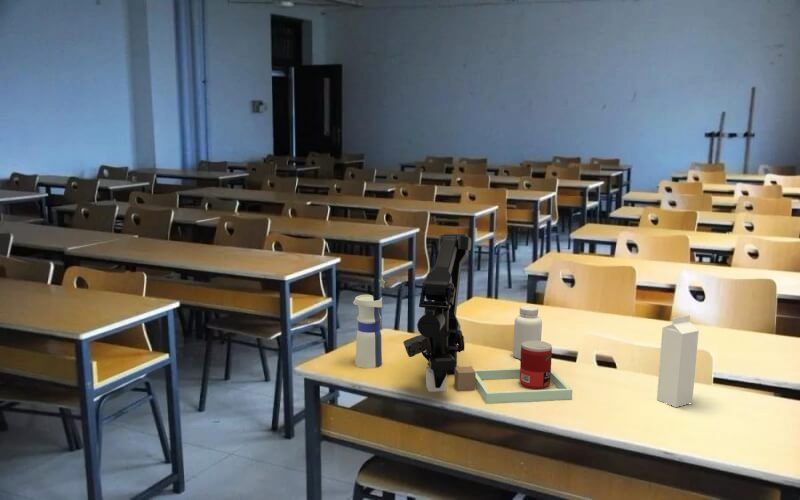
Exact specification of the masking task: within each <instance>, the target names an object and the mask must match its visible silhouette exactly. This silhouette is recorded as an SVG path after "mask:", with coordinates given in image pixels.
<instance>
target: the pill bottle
mask: <svg viewBox="0 0 800 500" xmlns="http://www.w3.org/2000/svg"><path fill="white" fill-rule="evenodd" d="M538 315H539V307H537V306H534V305H528V304H527V305H521V306H520V308H519V315H516V316H515V318H514V323H513V324H514V327H513V343H512V344H513V345H512V346H513V347H512V355H513V357H514V358H516V359H518V360H521V344H522V343H523V342H525V341H532V340H533V341H542V330H543V328H542V327H543V320H542V318H541V317H539V316H538Z"/></svg>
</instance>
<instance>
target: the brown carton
mask: <svg viewBox="0 0 800 500" xmlns="http://www.w3.org/2000/svg"><path fill="white" fill-rule="evenodd" d="M474 370H475V369H474V368H473V366H457V367H456V368H455V373H454V375H453V377H454V379H453V381H454V383H453V385H454V387H455V389H456V390H457V392H472V391H474V392H475V391H476V387H475V376H476V372H475V371H474Z"/></svg>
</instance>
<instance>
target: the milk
mask: <svg viewBox="0 0 800 500" xmlns="http://www.w3.org/2000/svg"><path fill="white" fill-rule="evenodd" d="M690 317H691V316H690V315H683V316H678V317H677V316H676V317H673V318H672V323H671V324H669V325H666V326H663V327H662V328H661V329H662V331H661V343H660V353H659V354H660V356H659V367H658V368H659V369H658V379H657V380H658V382H657V395H656V400H657V401H659V402H661V403H663V402H664V404H666V403H667V404H666V405H668V404H669V405H668V406H670V405H672V406H671V407H673V406H674V407H673V408H675V407H677V408H680V407H679V406H681V407H684V406H683V405H685V406H687V405H686V404H689V403H692V404H693V400H694V399H693V396H694V386H695V376H696V364H697V363H696V362H697V353H698V343H699V342H698V341H699V330H698V328H697V327H696V326H695V325H694V324H693V323H692V322H691V321H690ZM689 405H690V404H689Z"/></svg>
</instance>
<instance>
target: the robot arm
mask: <svg viewBox="0 0 800 500" xmlns="http://www.w3.org/2000/svg"><path fill="white" fill-rule="evenodd" d="M438 249H439V251H438V254H437V257H436V262H435V265H434V268H433V270H431V271H430V272H428V273H427V275H426V278H425V281H423V282H422V284H421V285H422V286H421V290H420V298H419V304H418V307H419V308H424V313H423V314H422V315H421V316H420V317H419V319H418V322H417V324H416V327H417V330H418V332H419V334H420V335H415V336H413V337H410V338H408V339H404V340H403V346H404V348H405V351H406V353H407V356H408V357H409V358H411V357H412V358H413V357H415V356H416V355H419V354H421V355H422V356H423V358H424V359H426V360H427V367H430V368H431V370H433V374H434V381H435V387H436V388H440V387H441V385H442V383H443V381H444V379H445V377H446V378H447V376H446V375H448V374H455V368H456V367H458V353H461V352H463V351H464V352H465V344H466V343H465V337H464V335H463V331H462V330H461V324H460V321H459V319H458V317H457V310H458V302H459V301H458V299H459V291H460V290H459V289H460V283H461V282H460V280H461V271H462V266H463V264H464V263H465V262H466V261H467V259H468V258H469V251H471V249H472V238H471V237H469V236H468V234H467V233H454V232H452V233H451V232H446V233H444V234H441V235H439V237H438Z"/></svg>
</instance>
